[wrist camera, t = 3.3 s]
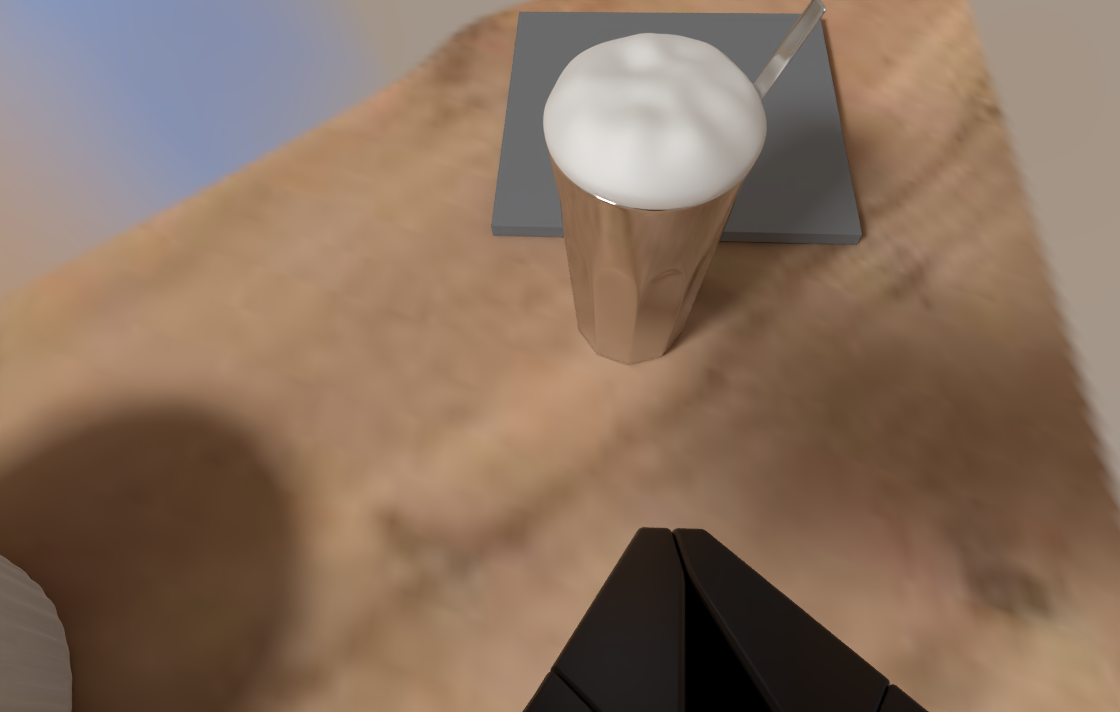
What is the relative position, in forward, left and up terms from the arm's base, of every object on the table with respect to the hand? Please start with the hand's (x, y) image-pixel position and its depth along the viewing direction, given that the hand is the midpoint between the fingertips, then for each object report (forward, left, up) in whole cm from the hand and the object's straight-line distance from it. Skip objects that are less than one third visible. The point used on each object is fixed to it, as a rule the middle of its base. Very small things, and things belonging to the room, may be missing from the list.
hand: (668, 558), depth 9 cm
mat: (+18, -1, -9) cm, 20 cm away
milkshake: (+9, 0, -9) cm, 13 cm away
